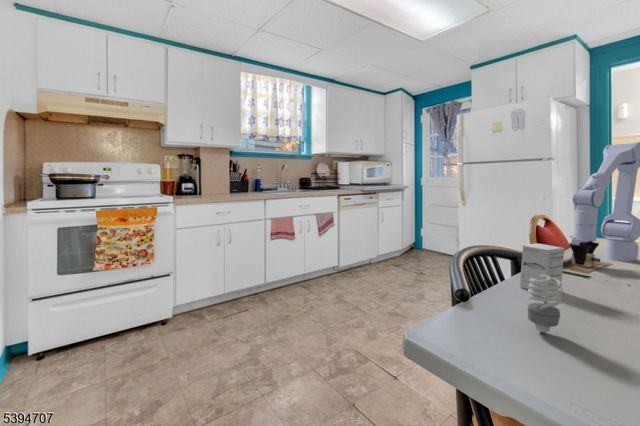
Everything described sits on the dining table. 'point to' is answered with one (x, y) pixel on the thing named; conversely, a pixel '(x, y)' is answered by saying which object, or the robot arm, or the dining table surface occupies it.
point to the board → (582, 268)
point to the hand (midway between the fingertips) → (582, 263)
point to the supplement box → (541, 263)
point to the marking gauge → (587, 260)
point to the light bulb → (544, 312)
